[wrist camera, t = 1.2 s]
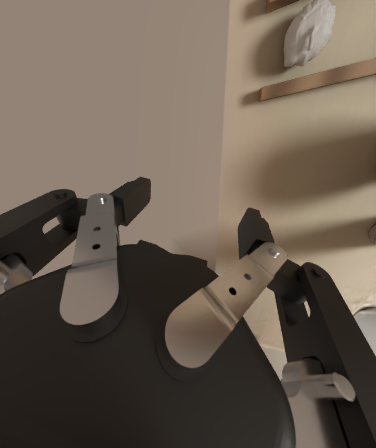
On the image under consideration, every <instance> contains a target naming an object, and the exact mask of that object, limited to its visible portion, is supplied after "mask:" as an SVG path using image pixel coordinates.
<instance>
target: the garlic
mask: <svg viewBox="0 0 376 448" xmlns="http://www.w3.org/2000/svg"><path fill="white" fill-rule="evenodd" d="M335 9H336V5H335V4H334V5H332V4H331V3H330V2H329V0H314V1H313V2H312V3H311V4H308V5H306V6H305V7H304V8H303V9H302V10H301V11H300V13H299V14H298V15H297V16H296V17H295V18H294V19H293V21H292V22H291V24H290V26H289V28H288V30H287V33H286V35H285V39H284V66H285V67H291V66H292V65H294V64H295V65H298V66H303V65H304V64H305V63H306V62H308V61H310V60H312V59H313V58H314V57H315V56H316V55H317V53H318V52H319V51H320V50H321V49H322V48H323V47H324V46H325V44H326V43H327V41H328V40H329V39H330V38H331V35H332V27H333V25H334V17H335V13H336V11H335Z"/></svg>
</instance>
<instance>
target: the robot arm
mask: <svg viewBox="0 0 376 448" xmlns="http://www.w3.org/2000/svg"><path fill="white" fill-rule="evenodd" d="M150 188H151V181H150V179H147V178H143V177H139V178H137V179H136V180H134V181H131V182H127V183H126V184H124V185H123V186H121V187H119V188H118V189H116V190H115V191H113V192H112V193H110V194H105V193H99V194H94V195H92V196H90V197H89V198H88V199H82V198H77V197H76V194H75V192H74V191H72V190H68V189H59V190H54V191H51V192H49V193H47V194H44V195H42V196H40V197H38V198H36V199H34V200H31V201H29V202H27V203H25V204H23V205H21V206H18V207H16V208H14V209H12V210H10V211H8V212H6V213H3V214H1V215H0V448H376V356H375V354H374V353H373V351H372V349H371V348H370V346H369V344H368V342H367V340H366V338H365V337H364V335H363V333H362V331H361V329H360V328H359V326H358V324H357V322H356V321H355V319H354V317H353V315H352V313H351V312H350V310H349V308H348V306H347V305H346V303H345V301H344V299H343V297H342V296H341V294H340V292H339V290H338V289H337V287H336V285H335V283H334V281H333V280H332V278H331V276H330V275H329V274H328V273H327V272H326V271H325V270H324V269H322V268H321V267H319V266H318V265H316V264H313V263H310V262H306V263H304V264H303V265H302V266H299V265H298V264H296V263H294V262H292V261H290V260H288V259H287V254H286V252H285V251H284V250H283V249H282V248H281V247H280V246H278V245H276V244H275V242H274V239H273V236H272V234H271V231H270V229H269V225H268V223H267V222H266V220H265V219H264V218H261V215H260V211H259V210H256V209H252V208H248V209H247V210H246V212H245V214H244V216H243V218H242V220H241V222H240V223H239V226H238V243H239V261H238V262H236V263H235V264H234V265H233V266H231V267H230V268H229V269H228V270H226V271H225V272H224V273H223V274H221V275H220V276H218V275H217V274H216V273H215V272H214V271H213V270H211V269H210V268H208V267H207V261H206V260H202V259H199V258H196V257H193V256H189V255H178V254H171V253H169V252H168V251H166V250H164V249H163V248H160V247H159V246H157V245H155V244H152V243H149V242H146V241H143V240H140V241H139V242H138V243H137V244H129V245H122V246H120V237H119V228H118V226H119V225H123V226H128V225H129V223H130V222H131V221H132V220H133V219H134V218H135V217H136V216H137V215H138V214H139V213H140V212H141V211H142V210H143V209H144V207H145V206H146V205H147V204H148V203H149V201H150V196H151V194H150V193H151V189H150ZM55 217H57V219H58V221H59V223H60V224H59V225H57V226H56V227H54V228H53V229H51V230H50V231H48V232H47V233H46V234H44V233H43V231H42V228H43V226H44V224H45V223H47V222H48V221H50V220H51V219H53V218H55ZM76 238H77V240H76V245H75V251H74V256H73V262H72V264H71V265H69V266H66V267H64V268H61V269H58V270H56V271H53V272H50V273H48V274H46V275H43V276H40V277H38V278H35V279H33V280H31V279H32V277H33V276H34V275H35V274H36V273H37V272H39V271H40V270H41V269H42V268H43V267H44V266H45V265H47V264H48V263H49V262H50V261H51V260H52V259H53V258H55V257H56V256H57V255H58V254H59V253H60V252H62V251H63V250H64V249H65V248H66V247H67V246H68V245H69V244H71V243H72V242H73V241H74V240H75V239H76ZM369 238H370V239H371V240H372V241H373V242H374V243H375V244H376V224H375V225H374V226H373V227H372V228H371V230H370V232H369ZM266 287H267V288H269V289H270V290H272V291H274V293H275V299H276V304H277V309H278V315H279V320H280V325H281V331H282V336H283V341H284V347H285V352H286V357H287V364H286V365H285V366H284V368H283V371H282V379H281V381H280V380H279V378H278V376H277V374H276V372H275V371H274V369H273V367H272V365H271V364H270V362H269V360H268V359H267V357H266V355H265V353H264V352H263V350H262V348H261V347H260V345H259V343H258V341H257V340H256V338H255V336H254V334H253V333H252V331H251V329H250V328H249V326H248V324H247V322H246V321H245V319H244V317H243V315H244V314H245V312H246V311H247V310H248V309H249V307H250V306H251V305H252V304H253V303H254V301H255V300H256V299H257V298H258V296H259V295H260V294H261V293H262V291H263V290H264V289H265V288H266ZM305 301H307V302H308V305H309V308H310V317H308V314H307V311H306V308H305V305H304V302H305Z"/></svg>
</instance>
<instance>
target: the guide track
mask: <svg viewBox="0 0 376 448" xmlns="http://www.w3.org/2000/svg"><path fill="white" fill-rule="evenodd" d="M296 1H298V0H267V8H266V13H268V12H271V11H273V10H276V9H278V8H281V7H283V6H286V5H288V4H291V3H293V2H296ZM374 74H376V58H373V59H369V60H365V61H361V62H358V63H354V64H350V65H346V66H342V67H338V68H335V69H331V70H327V71H323V72H319V73H315V74H312V75H308V76H304V77H300V78H296V79H292V80H289V81H285V82H281V83H277V84H273V85H269V86H266V87H262V88H261V89H260V95H259V101H264V100H268V99H272V98H276V97H281V96H285V95H289V94H293V93H298V92H302V91H306V90H310V89H315V88H319V87H323V86H327V85H332V84H336V83H340V82H344V81H349V80H353V79H357V78H361V77H366V76H370V75H374Z"/></svg>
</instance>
